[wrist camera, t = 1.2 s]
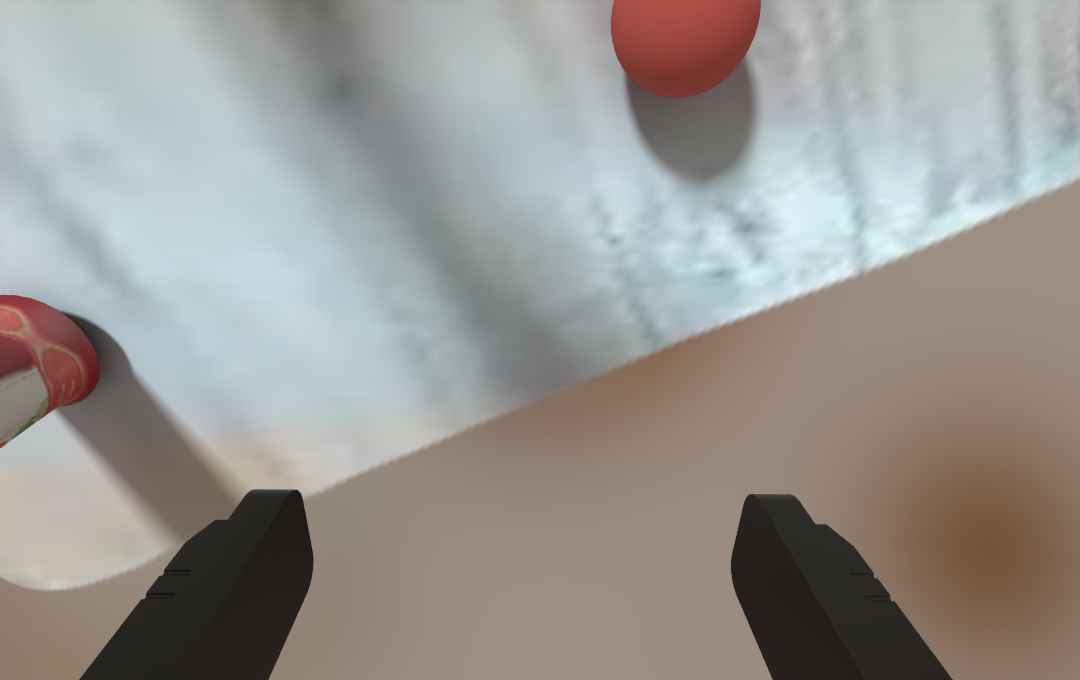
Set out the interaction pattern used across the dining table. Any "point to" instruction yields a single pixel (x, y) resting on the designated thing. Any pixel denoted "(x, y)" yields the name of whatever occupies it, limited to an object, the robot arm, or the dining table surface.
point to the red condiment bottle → (40, 363)
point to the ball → (682, 42)
